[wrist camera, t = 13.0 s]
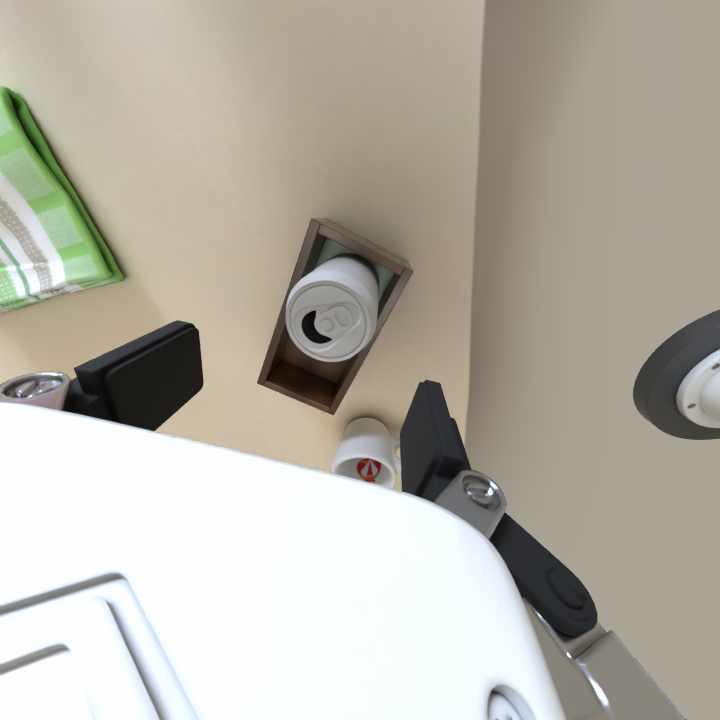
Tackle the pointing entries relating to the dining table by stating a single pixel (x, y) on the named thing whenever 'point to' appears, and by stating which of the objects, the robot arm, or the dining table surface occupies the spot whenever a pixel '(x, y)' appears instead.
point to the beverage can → (334, 308)
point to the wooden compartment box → (295, 368)
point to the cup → (368, 453)
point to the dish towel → (42, 219)
